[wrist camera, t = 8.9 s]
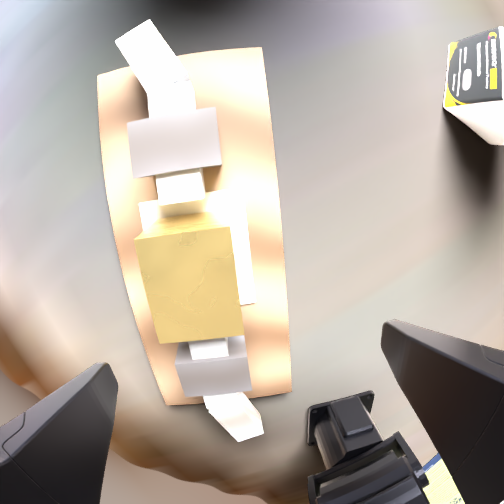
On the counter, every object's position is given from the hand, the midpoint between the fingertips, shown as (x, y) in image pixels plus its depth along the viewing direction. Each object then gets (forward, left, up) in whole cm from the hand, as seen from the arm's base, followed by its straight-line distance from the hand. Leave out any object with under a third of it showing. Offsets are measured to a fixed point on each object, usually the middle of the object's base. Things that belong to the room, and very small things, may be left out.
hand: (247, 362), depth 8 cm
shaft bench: (+1, +2, -11) cm, 11 cm away
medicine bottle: (+12, -22, -11) cm, 27 cm away
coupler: (+1, +2, -9) cm, 9 cm away
